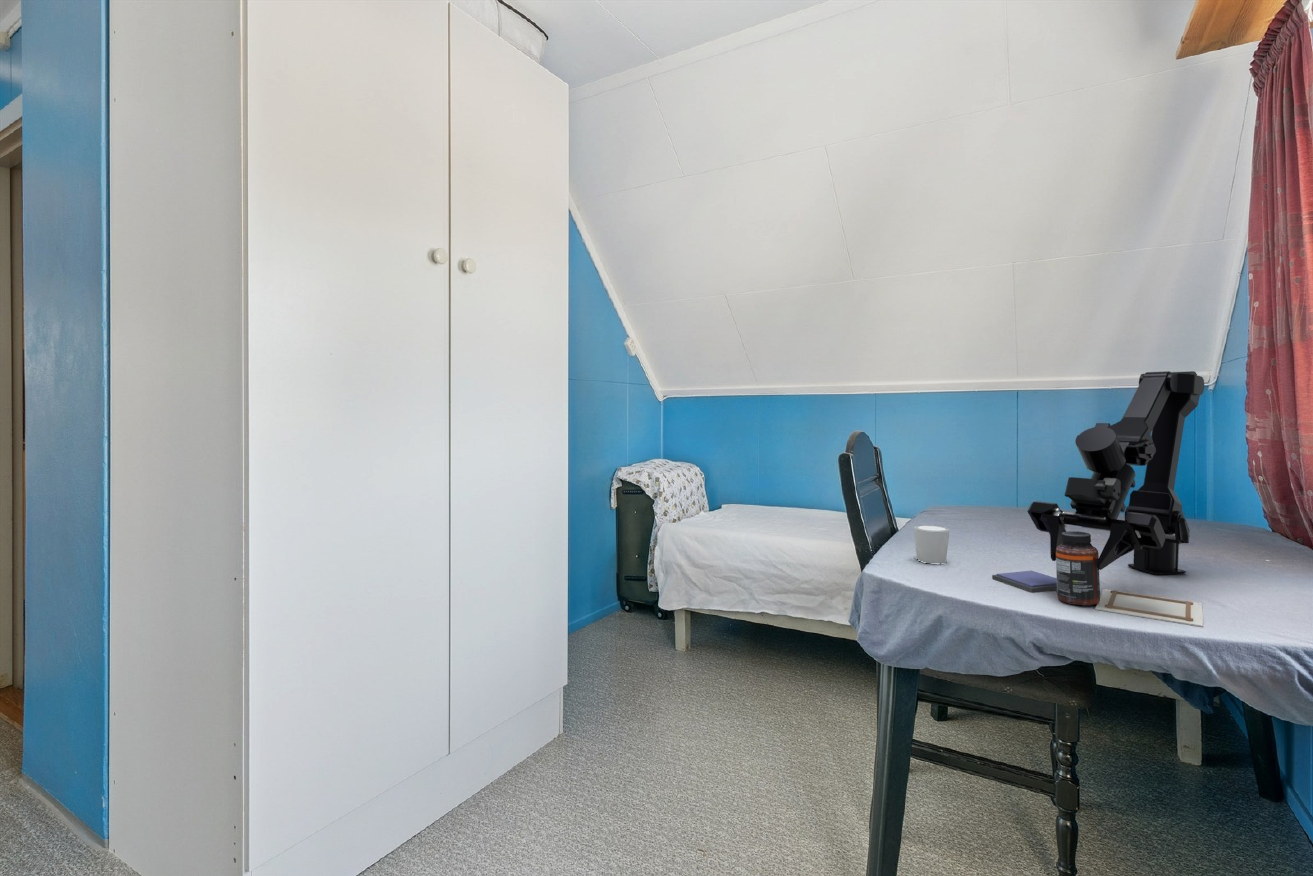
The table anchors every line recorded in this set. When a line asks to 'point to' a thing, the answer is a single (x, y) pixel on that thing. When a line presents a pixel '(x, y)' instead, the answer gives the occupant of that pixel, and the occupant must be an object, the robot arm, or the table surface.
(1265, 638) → the table surface
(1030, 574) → the ink pad
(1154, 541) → the robot arm
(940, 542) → the white short cylinder
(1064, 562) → the supplement bottle
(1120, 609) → the marked sheet
